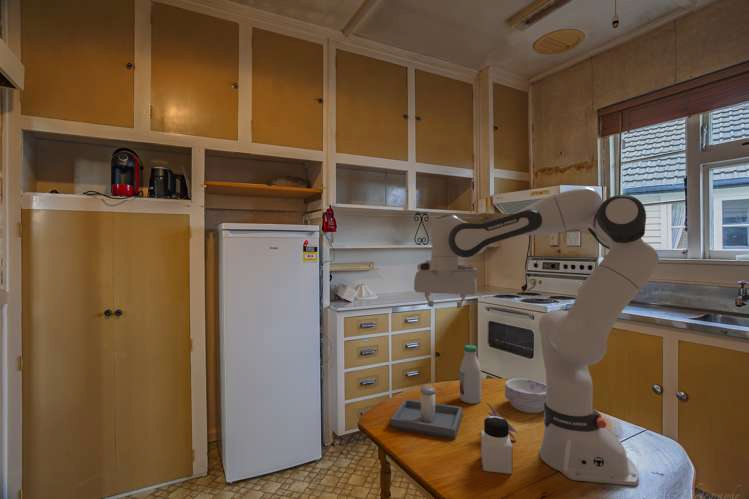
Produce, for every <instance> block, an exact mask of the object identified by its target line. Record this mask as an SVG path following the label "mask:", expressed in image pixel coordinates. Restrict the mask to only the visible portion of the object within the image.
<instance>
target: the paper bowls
mask: <svg viewBox="0 0 749 499" xmlns="http://www.w3.org/2000/svg"><path fill="white" fill-rule="evenodd" d="M504 397H505V399H506V400H507V401H508V402H510V403H511V405H512V407H513V408H514V409H516V410H517V411H520V412H522V413H528V414H538V413H541V412H544V403H545V402H546V383H544V382H542V381H538V380H534V379H528V378H511V379H507V380H506V381H505V383H504Z"/></svg>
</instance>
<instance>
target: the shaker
mask: <svg viewBox="0 0 749 499" xmlns="http://www.w3.org/2000/svg"><path fill="white" fill-rule="evenodd" d="M420 401H421V420H422V421H423V422H427V423H431V422H434V421H435V403H436V388H435V387H434V386H430V385H424V386H421V387H420Z"/></svg>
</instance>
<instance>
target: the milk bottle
mask: <svg viewBox="0 0 749 499" xmlns="http://www.w3.org/2000/svg"><path fill="white" fill-rule="evenodd" d="M463 350H464V351H463V353H464V355H463V358H462V361H461V362H460V367H459V399H460V401H461V402H463V403H465V404H471V405H475V404H480V403H481V401H482V367H481V364H480V362H479V360H478V357H477V352H478V347H477V346H476V345H473V344H466V345H464V346H463Z"/></svg>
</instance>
